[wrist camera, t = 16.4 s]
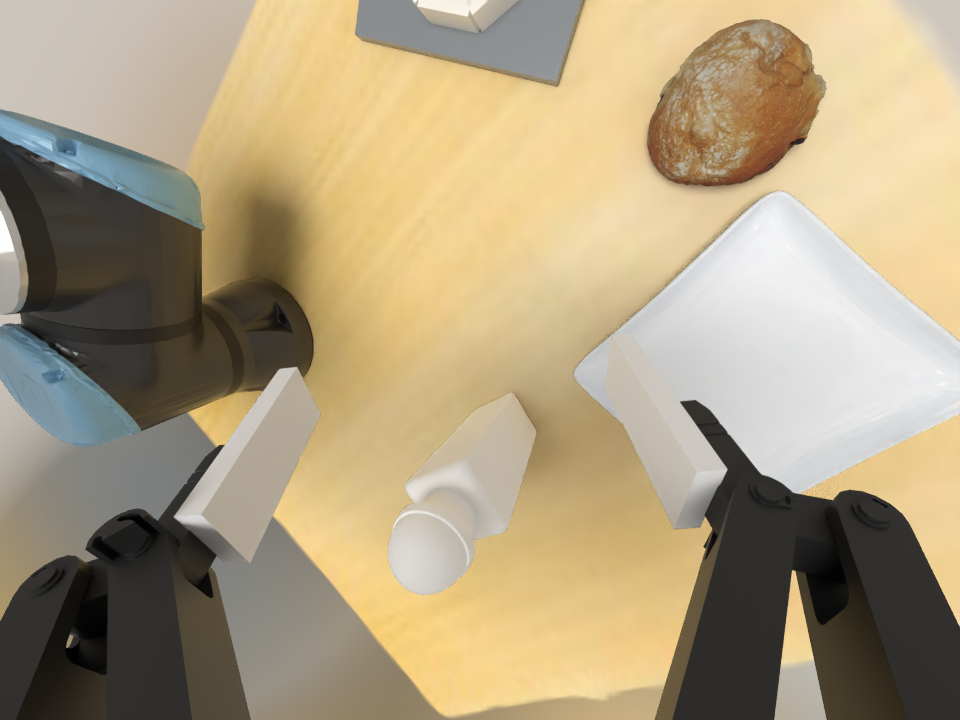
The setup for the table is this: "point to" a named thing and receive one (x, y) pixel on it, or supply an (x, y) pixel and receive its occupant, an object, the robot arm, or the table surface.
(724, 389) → the salad plate
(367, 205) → the table surface
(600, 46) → the table surface
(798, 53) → the bread roll
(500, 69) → the grey board with ring
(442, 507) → the white square bottle
